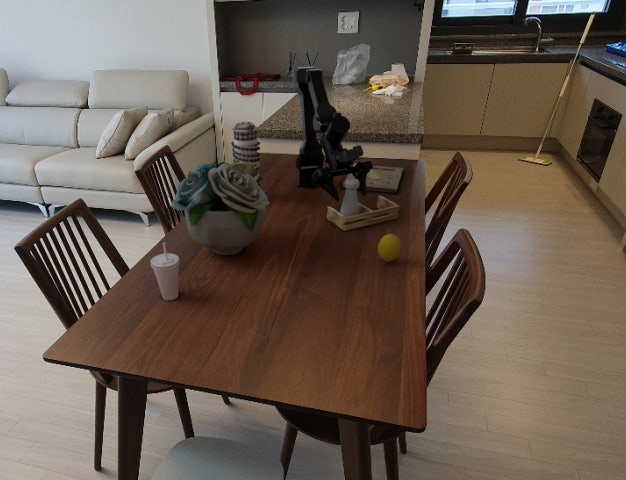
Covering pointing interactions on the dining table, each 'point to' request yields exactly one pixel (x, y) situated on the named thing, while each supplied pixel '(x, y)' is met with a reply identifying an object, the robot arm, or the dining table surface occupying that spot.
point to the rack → (365, 215)
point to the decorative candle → (246, 145)
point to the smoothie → (166, 273)
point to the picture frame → (381, 178)
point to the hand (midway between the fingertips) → (351, 198)
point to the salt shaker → (350, 199)
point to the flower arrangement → (222, 205)
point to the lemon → (389, 247)
